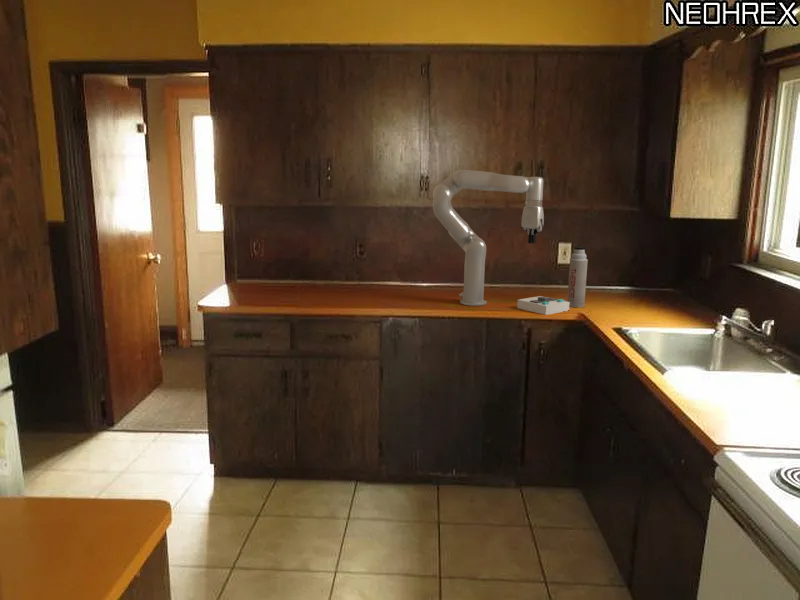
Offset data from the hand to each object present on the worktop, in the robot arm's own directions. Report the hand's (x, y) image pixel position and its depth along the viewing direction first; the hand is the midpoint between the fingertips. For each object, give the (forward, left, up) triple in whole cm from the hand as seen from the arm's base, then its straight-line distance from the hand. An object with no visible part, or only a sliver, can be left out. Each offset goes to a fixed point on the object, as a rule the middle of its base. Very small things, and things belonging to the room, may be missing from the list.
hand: (531, 243), depth 310 cm
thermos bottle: (+16, +15, -29) cm, 37 cm away
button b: (+12, -4, -27) cm, 30 cm away
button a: (+13, -9, -28) cm, 32 cm away
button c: (+13, +1, -28) cm, 31 cm away
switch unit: (+12, -4, -29) cm, 32 cm away
